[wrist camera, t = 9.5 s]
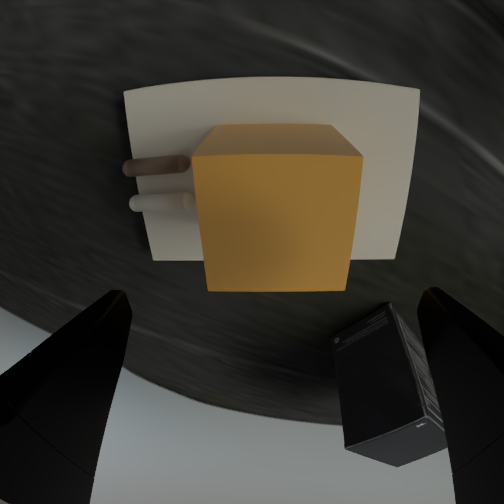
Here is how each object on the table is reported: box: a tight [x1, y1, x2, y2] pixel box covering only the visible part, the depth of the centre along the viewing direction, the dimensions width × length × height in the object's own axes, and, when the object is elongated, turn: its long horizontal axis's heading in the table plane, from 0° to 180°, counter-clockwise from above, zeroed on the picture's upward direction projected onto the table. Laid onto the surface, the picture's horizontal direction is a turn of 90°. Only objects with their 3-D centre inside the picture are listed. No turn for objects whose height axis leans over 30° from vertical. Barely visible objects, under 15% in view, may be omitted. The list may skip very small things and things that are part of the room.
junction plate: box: [122, 76, 420, 260], centre depth 16 cm, size 16×11×5 cm, turn 92°
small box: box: [330, 303, 448, 467], centre depth 22 cm, size 11×6×10 cm, turn 43°
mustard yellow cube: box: [191, 123, 364, 292], centre depth 15 cm, size 6×6×6 cm
